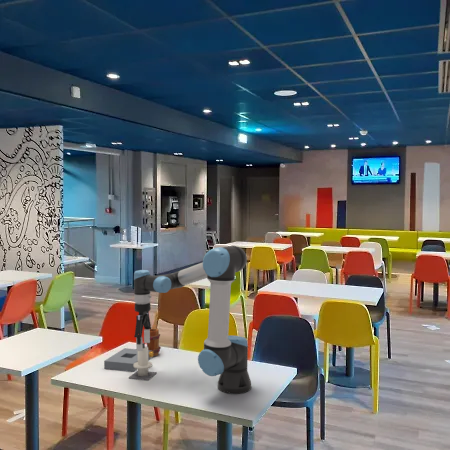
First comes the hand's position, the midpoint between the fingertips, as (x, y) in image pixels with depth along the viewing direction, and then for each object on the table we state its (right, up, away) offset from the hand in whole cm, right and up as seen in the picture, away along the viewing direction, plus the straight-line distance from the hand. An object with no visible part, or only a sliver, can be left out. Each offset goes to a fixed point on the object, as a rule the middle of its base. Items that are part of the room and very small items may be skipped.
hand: (143, 346), depth 228 cm
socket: (-11, -14, +19) cm, 26 cm away
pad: (0, -14, +1) cm, 14 cm away
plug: (0, -14, +1) cm, 14 cm away
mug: (0, -13, +35) cm, 37 cm away
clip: (-2, -8, +17) cm, 19 cm away
